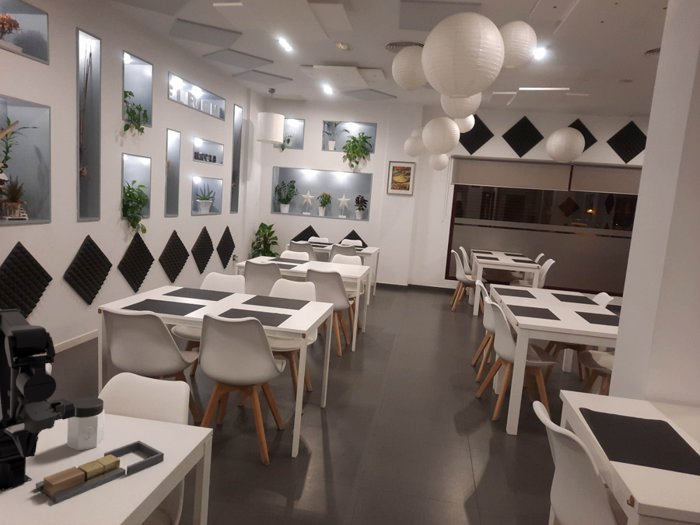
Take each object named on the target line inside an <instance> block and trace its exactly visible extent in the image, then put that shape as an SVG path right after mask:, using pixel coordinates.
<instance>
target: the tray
mask: <svg viewBox="0 0 700 525" xmlns="http://www.w3.org/2000/svg"><path fill="white" fill-rule="evenodd" d="M137 450H138V451H140V452H142V453H143V454H145V455H147V456H149V457H148V458H145V459H142V460H139V461H137V462H134V463H133V464H130V465H127V466H126V475H127V476H131V475H133V474H136V473H138V472H140V471H143V470H145V469H148V468H150V467H152V466H154V465H155V466H156V465H157V464H159V463H162V462H164V460H165V459H164V455H165V453H164V452H162V451H160V450H158V449H156V448H154V447H152V446H150V445H148V444H147V443H145V442H143V441H141V440H137V441H135V442H131V443H129V444H125V445H123V446H119V447H118V448H114V449H112V450H110V451H107V452H103V457H105V456H107V455H110V454H111V455H113V456H115V457H116V458H120V457H122V456H125V455H127V454H130V453H133V452H135V451H137Z"/></svg>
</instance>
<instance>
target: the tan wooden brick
mask: <svg viewBox="0 0 700 525" xmlns="http://www.w3.org/2000/svg"><path fill="white" fill-rule="evenodd" d="M84 477H85V473H84V472H83V471H81V470H79V469H78V467H76V466H72V467H70V468H66V469H64V470H60V471H59V472H56V473H53V474H50V475H47V476H45V477H43V480H42V481H43V491H44V492H45V493H46V494H48V495H49V496H50V497H52V495H54V494H56V493H59V492H61V491H64V490H66V489H69V488H71V487H74V486H76V485H79V484H81V483H84Z"/></svg>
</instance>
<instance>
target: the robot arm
mask: <svg viewBox="0 0 700 525" xmlns="http://www.w3.org/2000/svg"><path fill="white" fill-rule="evenodd" d="M55 356H56V349H55V345H54V340H53V338H52V336H51V333H50V332H49V331H47V329H46V328H45V327H43V326H41V325H32V324H30V322H29V321H28V320H27V319H26V317H24V315H23V312H22V310H21V309H18V308H12V309H11V308H10V309H0V491H6V490H9V489H13V488H16V487H18V486H21V485H24V484H25V483H27V482H30V481H32V480H33V479H32V478H31V477H30V476H28V475H27V474H26V470H27V468H26V467H27V465H26V464H27V458H29V457H34V456H35V454H36V451H37V445H38V441H39V435H40V433H41V432H42V431H45V430H50V429H52V428H54V426H55V423H56V421H59V420H63V421H64V420H68V418H71V417H75V416H76V406H75V405H74V404H73V403H72V401H70V400H67V399H65V398H58V399H56V400H52V401H48V400H49V399H50V398H51V397H52V396H53V395H54V393H55V391H56V390H57V381H56V379H55V378H54V377H53V376H52V375H51V374H50V373H49V372H48V371H47V366H46V365H48V364H52V363H53V364H54V363H55Z"/></svg>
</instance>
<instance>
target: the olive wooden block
mask: <svg viewBox="0 0 700 525" xmlns="http://www.w3.org/2000/svg"><path fill="white" fill-rule="evenodd" d="M95 460H96V459H95ZM95 460H92V461H89V462H86V463H83V464H81V465H78V467H77V468H78V469H79V470H81V471H83V472H84V473H85V477H84V482H86V481H89V480H91V479H94V478H96V477H99V476H101V475H103V473H104V466H103V465H102V464H100V463H98V462H97V461H95Z"/></svg>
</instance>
